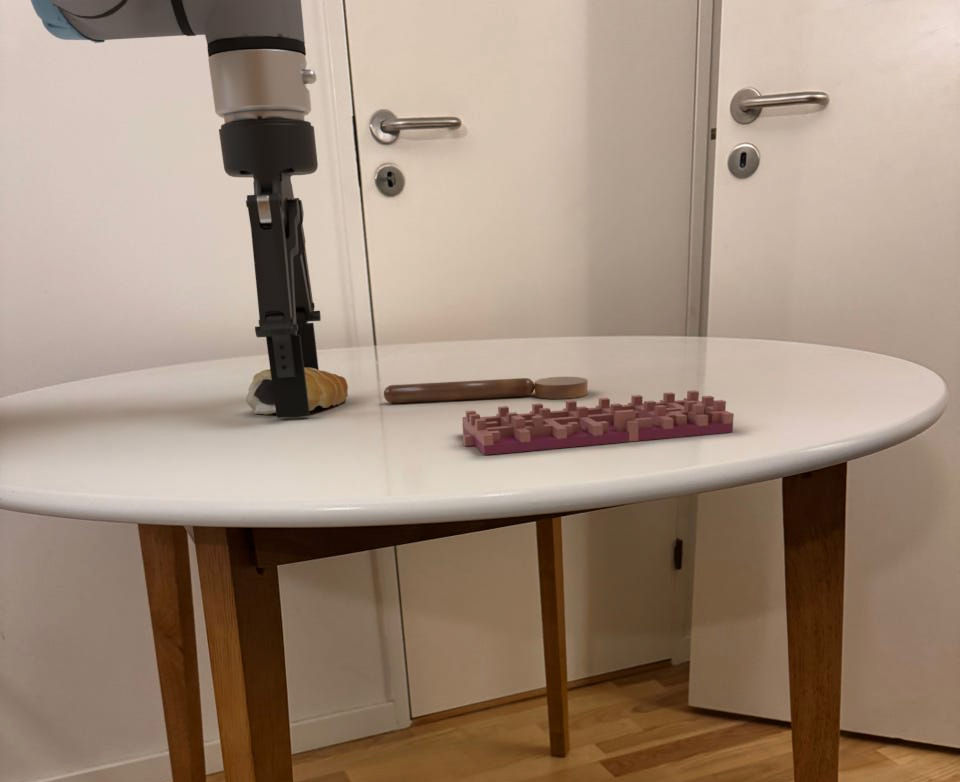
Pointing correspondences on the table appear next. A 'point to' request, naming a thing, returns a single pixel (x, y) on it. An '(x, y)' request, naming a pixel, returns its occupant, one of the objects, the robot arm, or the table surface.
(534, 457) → the table surface
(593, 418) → the pink studded slab
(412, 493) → the table surface
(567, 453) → the table surface
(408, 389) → the wooden spoon
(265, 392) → the pastry
